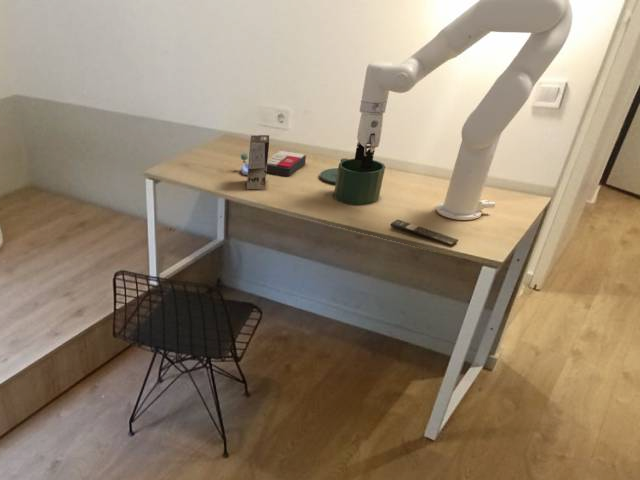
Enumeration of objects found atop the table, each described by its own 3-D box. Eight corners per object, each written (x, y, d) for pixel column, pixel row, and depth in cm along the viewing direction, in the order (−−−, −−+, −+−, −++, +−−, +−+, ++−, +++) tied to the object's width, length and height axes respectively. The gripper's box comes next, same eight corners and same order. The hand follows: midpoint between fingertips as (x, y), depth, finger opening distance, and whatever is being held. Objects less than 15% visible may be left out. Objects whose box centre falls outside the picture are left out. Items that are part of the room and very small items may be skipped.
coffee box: (264, 190, 215) (269, 142, 206) (246, 189, 217) (249, 142, 207) (265, 180, 222) (269, 134, 213) (247, 180, 224) (251, 134, 214)
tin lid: (358, 170, 227) (361, 152, 222) (368, 185, 215) (372, 166, 210) (316, 171, 228) (319, 153, 224) (324, 186, 216) (327, 167, 212)
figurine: (238, 170, 233) (239, 152, 229) (255, 168, 233) (257, 150, 229) (243, 177, 227) (244, 158, 222) (261, 175, 227) (263, 157, 223)
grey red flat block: (262, 162, 228) (279, 148, 237) (261, 173, 230) (278, 160, 239) (289, 166, 222) (306, 153, 231) (288, 178, 225) (305, 164, 234)
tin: (372, 188, 212) (378, 157, 205) (383, 204, 201) (390, 172, 194) (330, 189, 213) (335, 159, 207) (338, 205, 202) (344, 173, 195)
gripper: (393, 113, 182) (381, 172, 193) (378, 99, 196) (367, 155, 207) (367, 114, 183) (356, 173, 193) (354, 100, 197) (345, 156, 207)
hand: (362, 163), depth 200 cm, fingers open, 7 cm apart
